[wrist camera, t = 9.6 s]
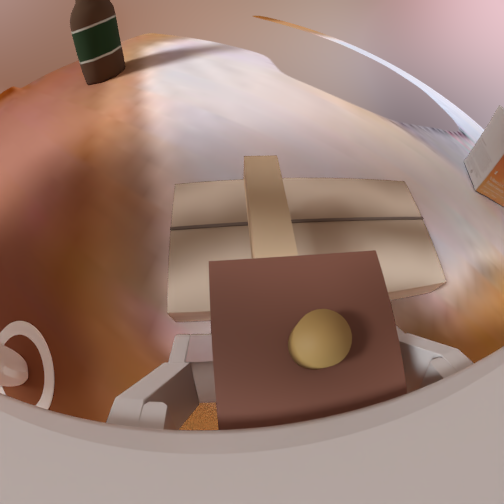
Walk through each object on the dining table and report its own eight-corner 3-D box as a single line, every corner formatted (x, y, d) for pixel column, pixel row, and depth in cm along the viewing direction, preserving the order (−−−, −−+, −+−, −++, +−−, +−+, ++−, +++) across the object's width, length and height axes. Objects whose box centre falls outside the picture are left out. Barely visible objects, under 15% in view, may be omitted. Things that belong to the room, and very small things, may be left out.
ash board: (431, 292, 17) (447, 281, 15) (175, 321, 15) (166, 312, 14) (394, 196, 21) (404, 180, 19) (179, 202, 20) (174, 183, 18)
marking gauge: (320, 404, 12) (428, 412, 4) (231, 415, 12) (218, 460, 4) (290, 215, 17) (320, 93, 10) (219, 218, 17) (209, 91, 9)
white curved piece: (-17, 374, 12) (-49, 364, 8) (11, 300, 15) (-19, 281, 12) (41, 443, 10) (5, 446, 7) (73, 359, 14) (36, 347, 10)
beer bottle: (135, 65, 34) (118, -52, 13) (98, 87, 31) (71, -40, 10) (110, 64, 36) (92, -40, 15) (77, 84, 32) (50, -25, 11)
